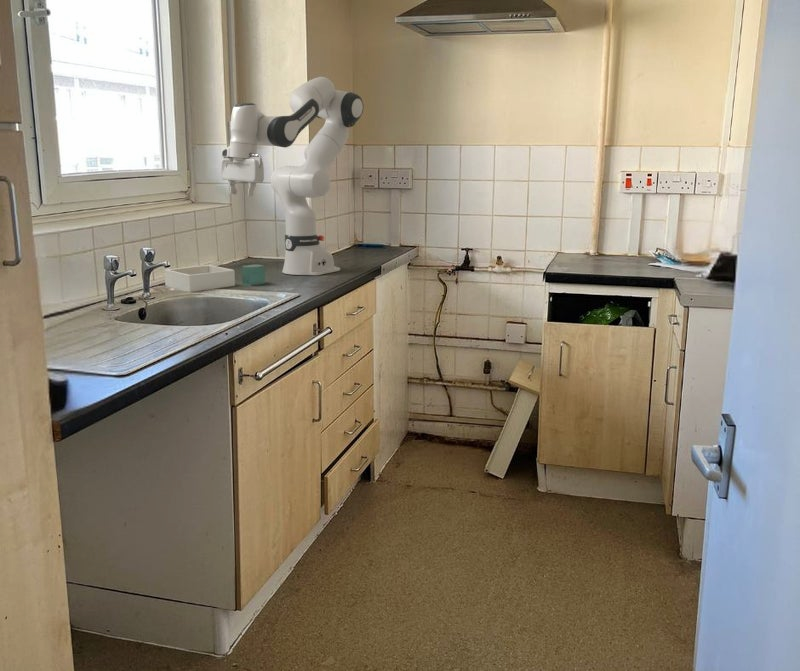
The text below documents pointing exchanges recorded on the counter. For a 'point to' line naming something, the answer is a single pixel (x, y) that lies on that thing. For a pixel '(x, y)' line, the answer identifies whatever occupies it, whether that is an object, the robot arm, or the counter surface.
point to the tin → (253, 275)
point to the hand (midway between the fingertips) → (241, 195)
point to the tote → (199, 278)
